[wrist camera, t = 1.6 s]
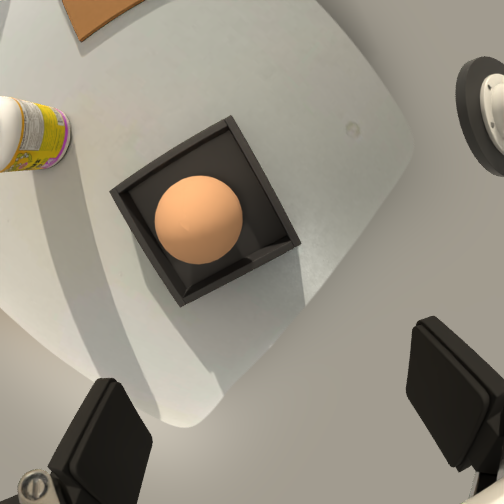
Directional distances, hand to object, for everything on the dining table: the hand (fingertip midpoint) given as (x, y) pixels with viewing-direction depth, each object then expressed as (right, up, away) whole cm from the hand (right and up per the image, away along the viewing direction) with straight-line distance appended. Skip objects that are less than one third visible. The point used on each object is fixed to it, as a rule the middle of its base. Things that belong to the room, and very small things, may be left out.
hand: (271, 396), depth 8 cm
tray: (-5, +8, +19) cm, 21 cm away
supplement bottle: (-22, +16, +17) cm, 32 cm away
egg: (-5, +8, +19) cm, 21 cm away
